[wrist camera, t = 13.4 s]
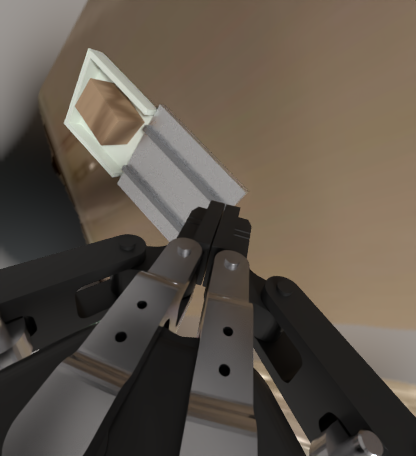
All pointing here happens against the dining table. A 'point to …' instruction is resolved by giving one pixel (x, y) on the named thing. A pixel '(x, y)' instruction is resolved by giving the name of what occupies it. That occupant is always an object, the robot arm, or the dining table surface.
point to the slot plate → (175, 174)
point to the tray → (106, 155)
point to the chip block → (108, 113)
